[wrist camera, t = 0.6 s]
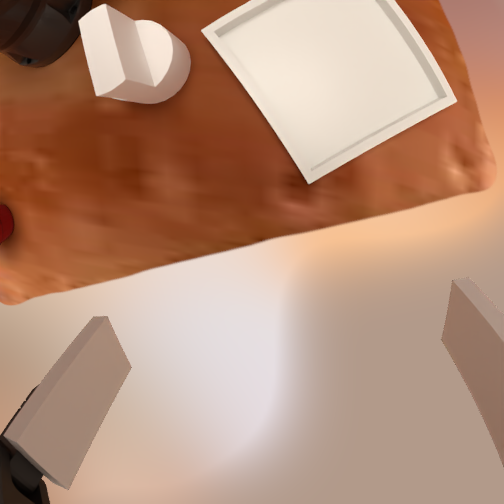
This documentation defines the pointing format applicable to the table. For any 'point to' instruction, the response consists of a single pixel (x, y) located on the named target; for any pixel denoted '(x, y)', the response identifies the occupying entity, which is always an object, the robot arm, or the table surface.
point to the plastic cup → (5, 223)
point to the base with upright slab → (132, 57)
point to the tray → (331, 74)
